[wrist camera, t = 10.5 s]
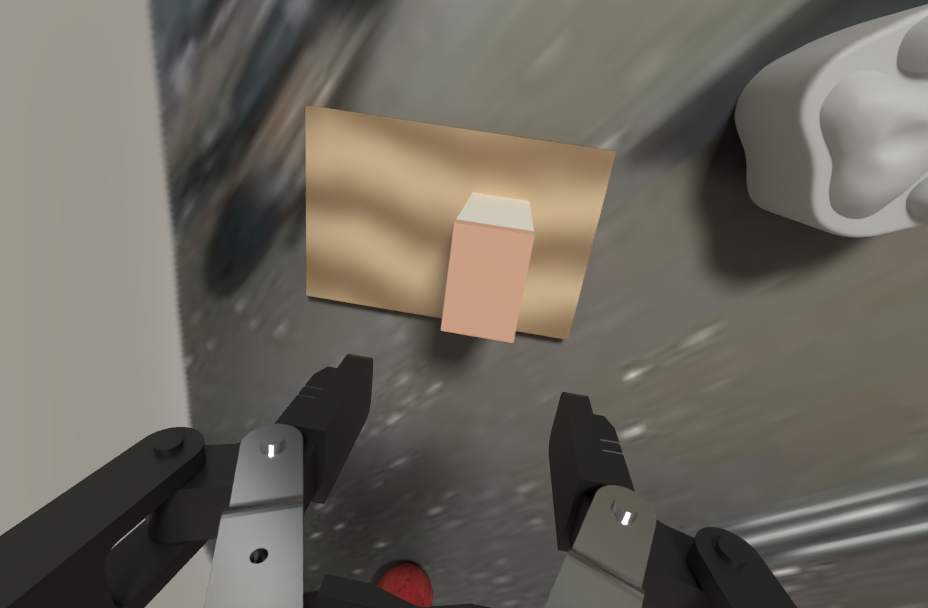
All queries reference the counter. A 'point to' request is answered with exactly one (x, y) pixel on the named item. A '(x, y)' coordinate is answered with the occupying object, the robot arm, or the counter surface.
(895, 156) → the paw stamp
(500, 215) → the block
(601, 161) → the board
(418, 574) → the red strawberry
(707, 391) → the counter surface
